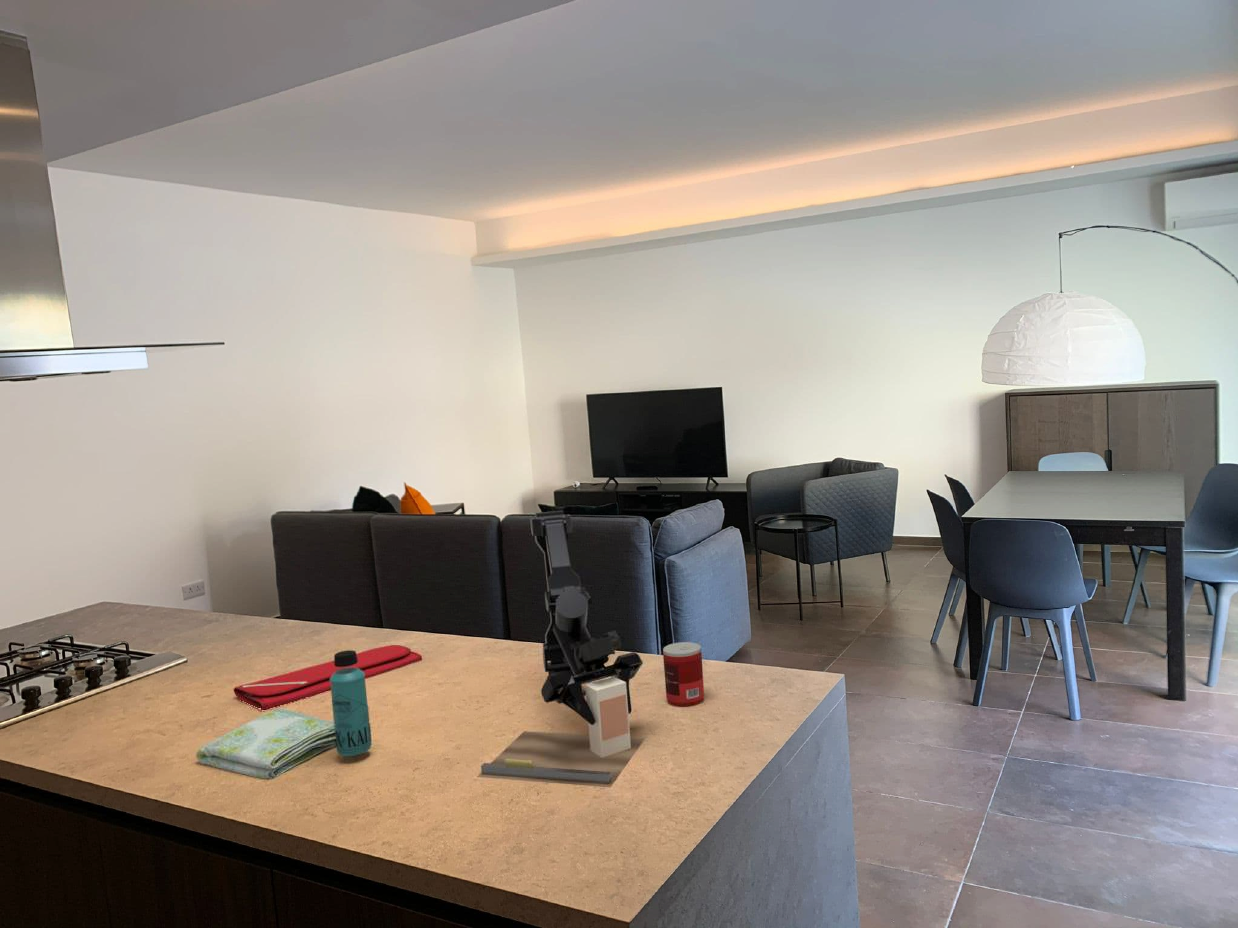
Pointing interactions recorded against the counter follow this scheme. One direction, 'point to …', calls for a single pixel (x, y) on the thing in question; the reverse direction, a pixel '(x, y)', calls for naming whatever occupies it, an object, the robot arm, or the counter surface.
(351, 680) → the beverage bottle
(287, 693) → the dish drying mat
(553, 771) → the price rail
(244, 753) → the towel
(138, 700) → the counter surface
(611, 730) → the cream box
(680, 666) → the canned food
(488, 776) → the shelf board
